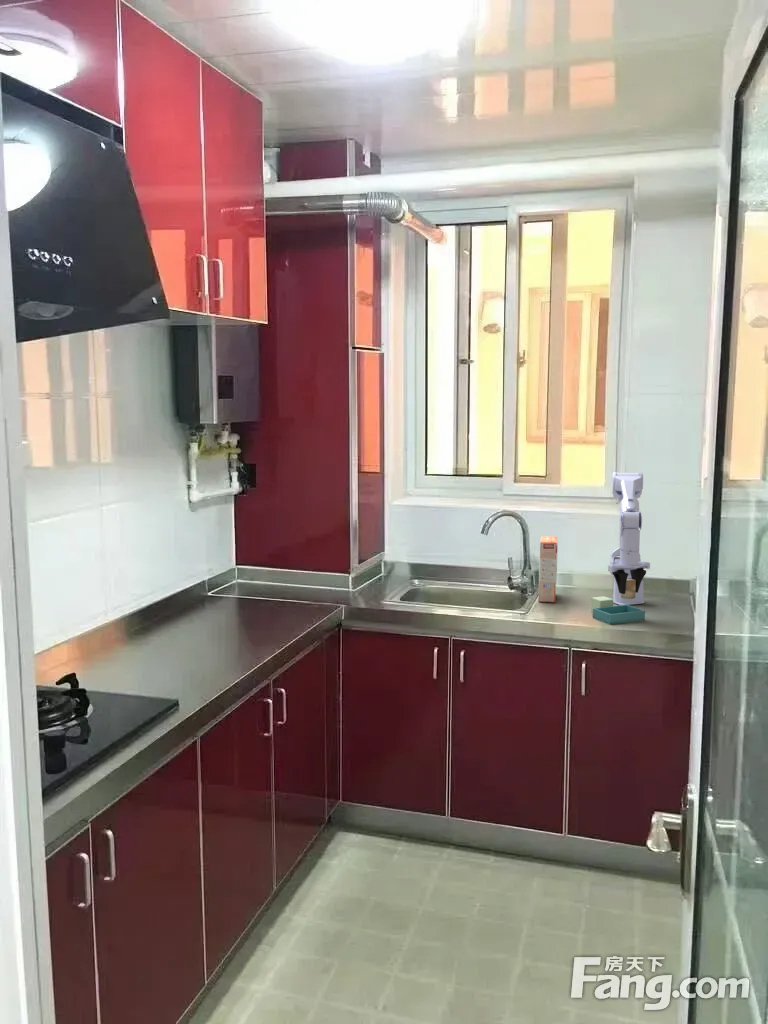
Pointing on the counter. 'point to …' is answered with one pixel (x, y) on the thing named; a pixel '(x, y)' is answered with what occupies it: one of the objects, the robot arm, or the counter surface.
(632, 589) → the cork cylinder
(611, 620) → the bin
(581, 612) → the counter surface
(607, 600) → the sage cube
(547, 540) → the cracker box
